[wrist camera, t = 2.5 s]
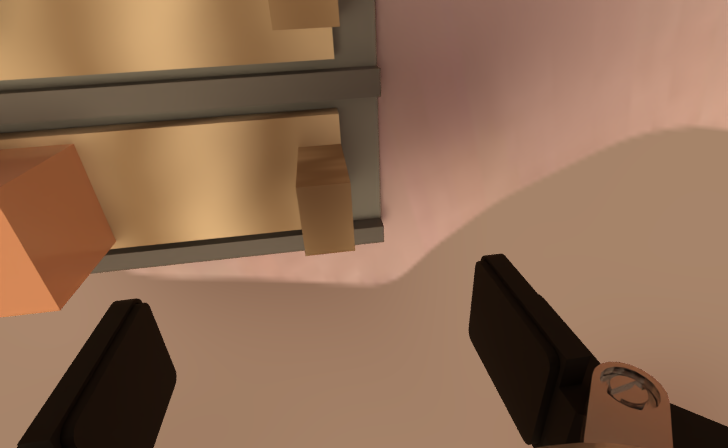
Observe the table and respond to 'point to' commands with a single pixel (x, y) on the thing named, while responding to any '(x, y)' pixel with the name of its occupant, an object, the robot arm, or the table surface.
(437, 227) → the table surface
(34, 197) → the cube
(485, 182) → the table surface
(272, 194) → the strip far
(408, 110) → the table surface
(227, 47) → the strip near
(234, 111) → the lane board
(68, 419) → the robot arm
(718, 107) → the table surface
